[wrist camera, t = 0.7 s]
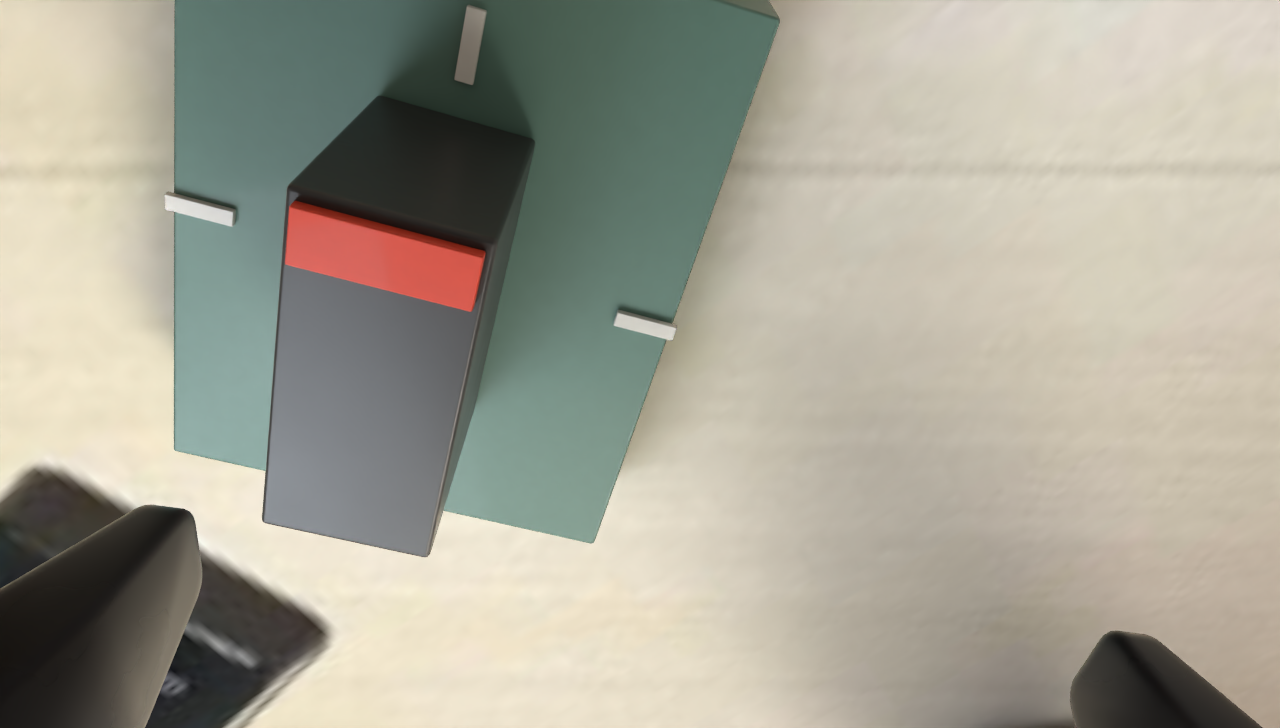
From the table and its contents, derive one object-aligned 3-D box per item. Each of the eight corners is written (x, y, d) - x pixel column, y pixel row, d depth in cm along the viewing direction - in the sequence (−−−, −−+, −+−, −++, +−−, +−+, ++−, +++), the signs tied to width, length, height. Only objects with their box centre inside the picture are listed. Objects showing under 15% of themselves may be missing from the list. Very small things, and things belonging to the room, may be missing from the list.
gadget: (473, 410, 21) (425, 569, 17) (341, 379, 21) (255, 532, 16) (536, 138, 17) (495, 247, 13) (377, 93, 17) (278, 190, 13)
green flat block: (601, 485, 26) (596, 550, 23) (211, 394, 24) (165, 454, 22) (771, -3, 18) (787, 22, 16) (228, -177, 17) (162, -176, 15)
